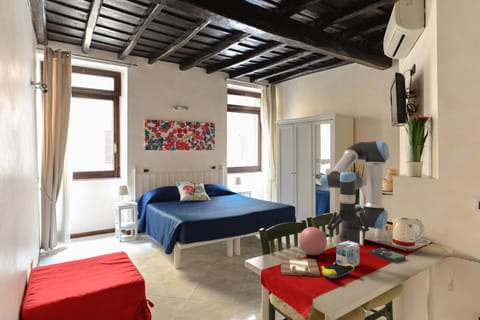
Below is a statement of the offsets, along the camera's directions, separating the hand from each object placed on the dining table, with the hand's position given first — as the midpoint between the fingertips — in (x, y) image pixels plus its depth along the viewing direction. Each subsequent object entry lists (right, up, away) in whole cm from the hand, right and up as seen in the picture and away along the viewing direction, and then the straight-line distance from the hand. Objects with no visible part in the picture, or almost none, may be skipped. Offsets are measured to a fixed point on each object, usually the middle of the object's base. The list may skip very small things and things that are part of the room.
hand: (347, 243), depth 142 cm
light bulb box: (0, -11, 0) cm, 11 cm away
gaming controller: (-10, -12, -13) cm, 20 cm away
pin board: (-25, -11, -3) cm, 28 cm away
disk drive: (+26, -11, +11) cm, 30 cm away
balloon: (-12, -11, +17) cm, 23 cm away
